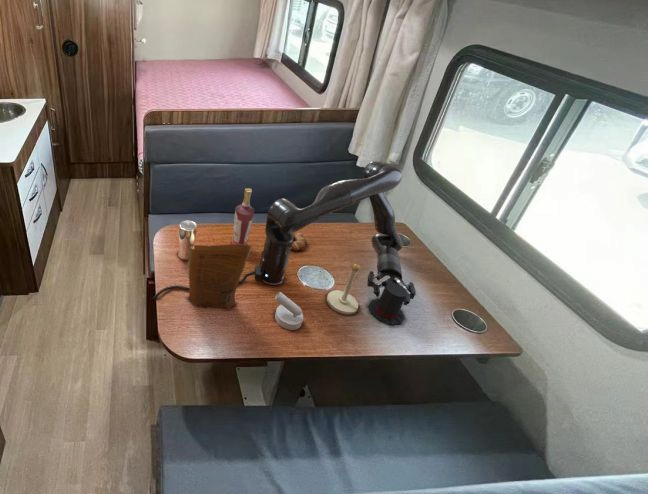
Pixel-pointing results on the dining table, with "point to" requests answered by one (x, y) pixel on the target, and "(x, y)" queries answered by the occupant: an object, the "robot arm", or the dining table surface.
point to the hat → (389, 305)
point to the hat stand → (344, 296)
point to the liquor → (243, 220)
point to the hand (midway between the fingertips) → (392, 299)
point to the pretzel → (298, 241)
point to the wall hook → (288, 313)
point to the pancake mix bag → (216, 273)
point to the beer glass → (186, 238)
